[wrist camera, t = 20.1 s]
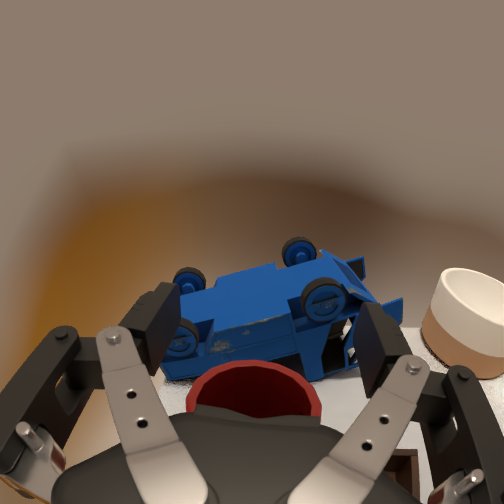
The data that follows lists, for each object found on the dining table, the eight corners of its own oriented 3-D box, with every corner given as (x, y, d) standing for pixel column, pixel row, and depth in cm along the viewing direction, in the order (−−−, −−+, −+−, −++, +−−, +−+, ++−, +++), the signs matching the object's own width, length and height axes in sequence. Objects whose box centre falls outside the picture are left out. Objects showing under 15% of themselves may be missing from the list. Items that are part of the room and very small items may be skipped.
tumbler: (299, 499, 16) (348, 417, 11) (227, 536, 13) (228, 484, 8) (255, 448, 21) (271, 346, 16) (187, 475, 18) (166, 381, 13)
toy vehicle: (160, 273, 36) (193, 346, 40) (134, 333, 25) (185, 411, 29) (356, 219, 35) (365, 299, 39) (406, 259, 24) (403, 354, 28)
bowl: (523, 371, 26) (550, 325, 23) (449, 386, 27) (482, 331, 23) (476, 312, 42) (493, 271, 39) (405, 309, 42) (422, 262, 39)
